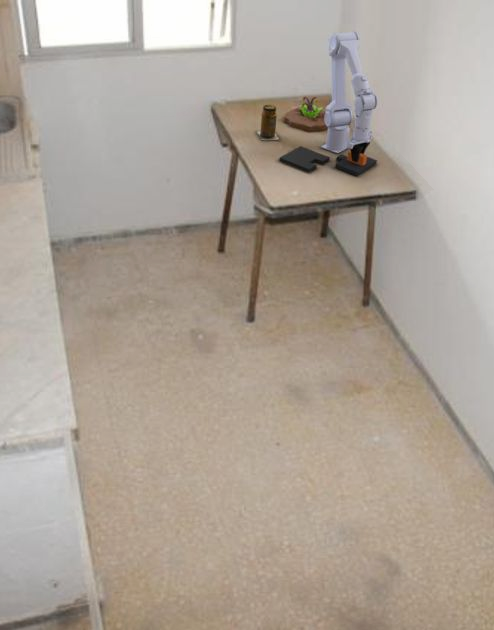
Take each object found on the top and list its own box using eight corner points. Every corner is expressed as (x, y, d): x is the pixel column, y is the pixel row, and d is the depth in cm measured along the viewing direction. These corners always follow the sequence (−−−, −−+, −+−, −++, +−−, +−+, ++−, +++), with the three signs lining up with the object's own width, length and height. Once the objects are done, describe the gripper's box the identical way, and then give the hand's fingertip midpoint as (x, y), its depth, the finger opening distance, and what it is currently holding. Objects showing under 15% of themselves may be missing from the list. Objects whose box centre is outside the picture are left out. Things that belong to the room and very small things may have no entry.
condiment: (273, 131, 298) (276, 103, 291) (279, 139, 291) (281, 111, 284) (256, 132, 296) (258, 103, 289) (261, 140, 290) (263, 112, 283)
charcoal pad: (348, 153, 284) (349, 141, 281) (376, 163, 278) (378, 151, 275) (328, 165, 275) (329, 152, 272) (357, 176, 269) (359, 163, 266)
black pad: (300, 149, 285) (300, 146, 284) (329, 160, 279) (330, 157, 278) (279, 161, 277) (279, 157, 276) (308, 172, 270) (309, 169, 269)
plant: (312, 135, 296) (315, 109, 289) (276, 120, 306) (278, 95, 300) (342, 122, 308) (345, 97, 301) (307, 108, 318) (309, 83, 311)
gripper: (360, 135, 259) (355, 169, 268) (381, 123, 268) (375, 157, 277) (344, 129, 263) (339, 163, 271) (365, 118, 272) (360, 151, 280)
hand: (356, 159), depth 274 cm, fingers closed on charcoal pad, 2 cm apart
